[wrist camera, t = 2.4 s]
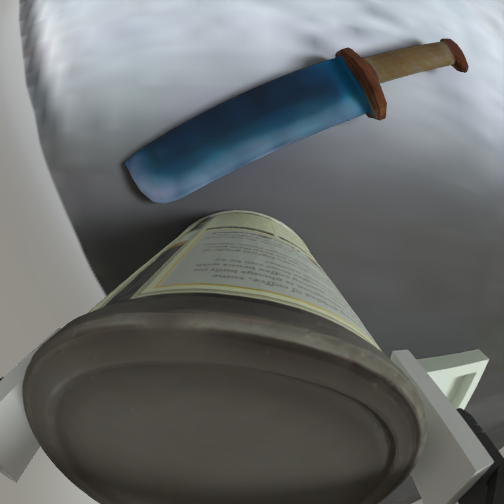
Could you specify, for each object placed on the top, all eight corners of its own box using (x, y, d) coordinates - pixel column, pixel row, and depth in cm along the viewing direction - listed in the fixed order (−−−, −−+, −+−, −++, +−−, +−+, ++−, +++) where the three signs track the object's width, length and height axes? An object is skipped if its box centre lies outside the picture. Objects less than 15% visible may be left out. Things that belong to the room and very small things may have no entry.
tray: (330, 366, 20) (336, 382, 18) (478, 349, 20) (489, 359, 18) (298, 474, 24) (300, 487, 22) (422, 453, 24) (427, 463, 22)
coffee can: (295, 365, 20) (329, 544, 6) (156, 338, 20) (71, 501, 6) (337, 228, 18) (505, 347, 4) (174, 193, 17) (-18, 245, 3)
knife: (139, 228, 15) (109, 151, 14) (162, 225, 18) (134, 159, 17) (491, 80, 11) (451, 20, 11) (470, 94, 14) (435, 39, 14)
